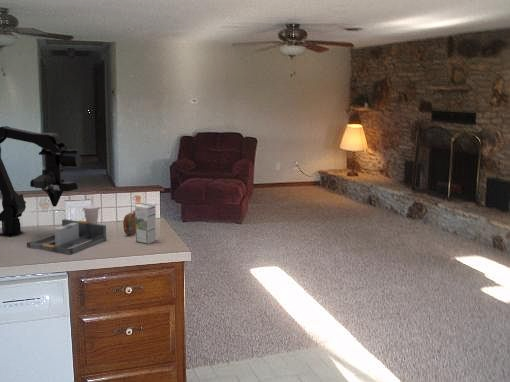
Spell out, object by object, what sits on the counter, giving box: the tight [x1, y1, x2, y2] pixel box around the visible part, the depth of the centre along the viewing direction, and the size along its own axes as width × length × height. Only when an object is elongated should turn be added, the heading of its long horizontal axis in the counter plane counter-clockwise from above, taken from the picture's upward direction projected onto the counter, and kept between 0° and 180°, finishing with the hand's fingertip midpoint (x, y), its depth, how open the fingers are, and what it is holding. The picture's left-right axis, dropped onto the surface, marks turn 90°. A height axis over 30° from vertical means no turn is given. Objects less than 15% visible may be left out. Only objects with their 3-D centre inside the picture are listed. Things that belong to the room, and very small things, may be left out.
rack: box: [26, 218, 107, 256], centre depth 204 cm, size 20×20×6 cm
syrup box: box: [134, 202, 157, 245], centre depth 209 cm, size 6×6×14 cm
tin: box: [122, 209, 136, 236], centre depth 222 cm, size 15×3×8 cm, turn 168°
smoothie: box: [82, 195, 100, 224], centre depth 224 cm, size 6×6×14 cm
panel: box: [54, 222, 80, 246], centre depth 204 cm, size 2×10×7 cm, turn 157°
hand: (54, 206), depth 212 cm, fingers closed
